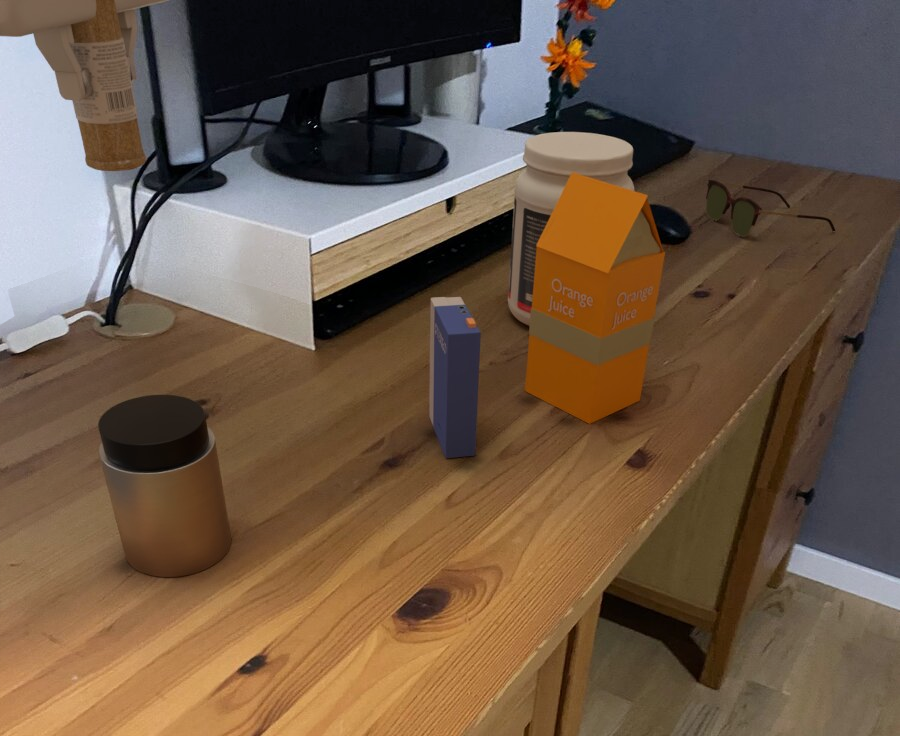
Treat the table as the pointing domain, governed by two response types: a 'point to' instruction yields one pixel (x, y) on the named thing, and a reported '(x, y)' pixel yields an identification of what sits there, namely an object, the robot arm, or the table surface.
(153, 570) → the flask
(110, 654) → the table surface
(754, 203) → the sunglasses
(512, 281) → the supplement tub
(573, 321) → the orange juice
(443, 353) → the walkman
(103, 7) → the sprinkles bottle
